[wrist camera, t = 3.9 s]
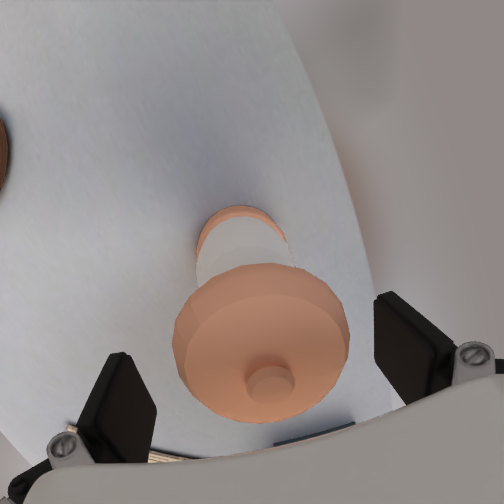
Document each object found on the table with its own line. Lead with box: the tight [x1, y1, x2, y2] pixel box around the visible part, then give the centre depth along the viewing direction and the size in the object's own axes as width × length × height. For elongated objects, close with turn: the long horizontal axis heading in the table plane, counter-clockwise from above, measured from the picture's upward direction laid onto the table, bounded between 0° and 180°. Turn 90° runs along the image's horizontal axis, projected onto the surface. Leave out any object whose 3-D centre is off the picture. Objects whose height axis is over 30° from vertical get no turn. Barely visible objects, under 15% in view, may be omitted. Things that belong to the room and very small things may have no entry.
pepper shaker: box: [172, 205, 350, 424], centre depth 18 cm, size 7×7×19 cm
